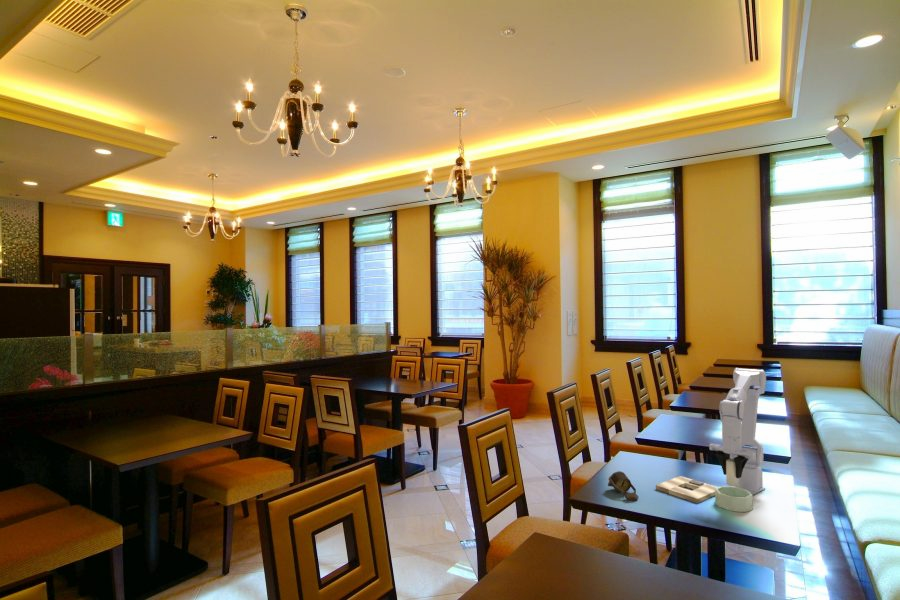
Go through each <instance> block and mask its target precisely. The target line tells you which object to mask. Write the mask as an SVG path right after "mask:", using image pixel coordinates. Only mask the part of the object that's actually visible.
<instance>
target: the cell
mask: <svg viewBox="0 0 900 600" xmlns="http://www.w3.org/2000/svg"><path fill="white" fill-rule="evenodd" d="M725 478H726V479H725V482H726V485H727V486H731V487H732V486H738V478H736V466H735V461H734V459H732V458H730V457H729V459H727V460H726V476H725Z"/></svg>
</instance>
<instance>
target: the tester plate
mask: <svg viewBox="0 0 900 600" xmlns="http://www.w3.org/2000/svg"><path fill="white" fill-rule="evenodd" d="M718 487H719V486H716V485H712V484H708V483H706V482H703V481H699V480H697V479H693V478H688V477H686V476H682V475H679V476H676V477H673V478H671V479H669V480H666V481H662V482H660V483H658V484H656V485H655V490H658V491H660V492H662V493H666V494H669V495H671V496H675V497H678V498H682V499H685V500H687V501H691V502H694V503H696V504H699V503H702V502H704V501H706V500H708V499H711V498H713V497H715V489H716V488H718ZM687 488H688V489H687ZM691 489H692V490H691Z"/></svg>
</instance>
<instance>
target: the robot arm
mask: <svg viewBox="0 0 900 600" xmlns="http://www.w3.org/2000/svg"><path fill="white" fill-rule="evenodd" d="M732 378H733V379H732V380H733V383H734V387H733V388H731V389H730V390H729V391H728V394H727V396H726V397H725V399H723V400H720V402H719V406H718V407H719V408H718V409H719V410H718V411H719V414H720V415H719V416H720V417H719V418H720V422H721V429H722V430H721V432H722V433H721V436H722V437H721V439H722V440H721V441H722V443H721V444H717V443H710V444H708V445H709V447H708V448H709V450H710V451H715V452H717V453H715V457H716V458H717V460H718V461H719V464H720V466H721V469H722V470H721V471H722V472H723V475H726V460H727V459H730V458H732V459H734V461H735V466H736V478H738V486H731V487H738V488H741V489H744V490H748V491H749V492H750V493H751V494H752V496H753V495H756V494H758V493H760V492H762V491H764V490H766V487H765V486H764V485H763V483H764V482H763V481H764V480H763V479H764V478H763V469H762V468H761V467H762V466H763V463H764V447H763V445H762V444H761V443H760V442H759V441H758V440H757V439H756V430H757V417H758V408H759V407H758V404H759V398H760V395H762V394H765V391H766V386H767V385H766V384H767V374H766V371H764V369H755V368H754V369H752V368H751V369H750V368H741V367H740V368H739V367H735V368H734V370H733V374H732Z"/></svg>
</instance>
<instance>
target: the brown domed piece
mask: <svg viewBox="0 0 900 600" xmlns="http://www.w3.org/2000/svg"><path fill="white" fill-rule="evenodd" d="M607 486H608V487H612V488H613V490H615V492H617V493H619V494H622V495H624V497H625V499H626V500H627V501H637V500H639V495H638V494H636V493H637V489H636V488H635V485H633V484H632V482H631V480H630V479H629V477H628V476H627V475H626V473H624V472H623V471H621V470H619V471H615V472H613V473H612V474H611V475H610V476H609V477H608V483H607ZM630 489H631V490H633V492H629V490H630Z"/></svg>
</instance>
